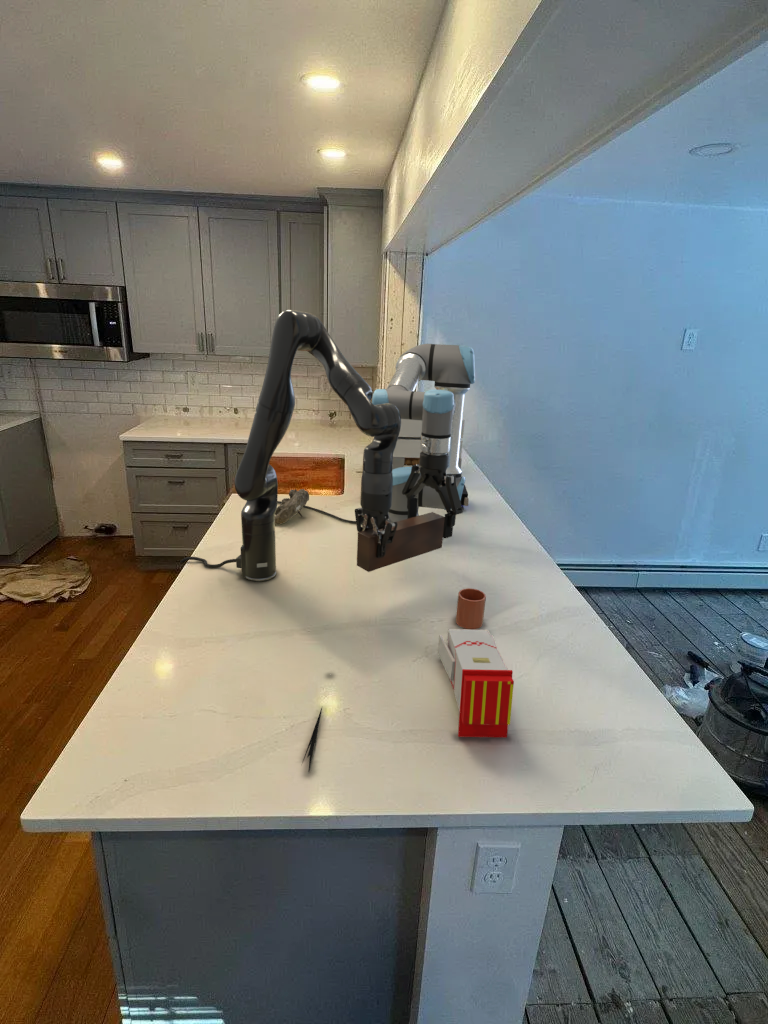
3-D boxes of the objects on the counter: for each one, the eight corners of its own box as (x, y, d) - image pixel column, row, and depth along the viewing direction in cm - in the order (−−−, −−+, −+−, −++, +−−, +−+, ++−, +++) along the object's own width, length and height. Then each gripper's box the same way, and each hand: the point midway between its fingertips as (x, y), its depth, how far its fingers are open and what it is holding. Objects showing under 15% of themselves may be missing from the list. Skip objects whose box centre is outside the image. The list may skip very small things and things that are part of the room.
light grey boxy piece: (382, 463, 289) (386, 382, 275) (445, 464, 293) (451, 384, 279) (390, 482, 257) (394, 392, 243) (460, 483, 261) (468, 394, 247)
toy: (488, 613, 130) (523, 677, 101) (484, 667, 133) (517, 744, 104) (435, 612, 130) (455, 676, 101) (432, 666, 133) (451, 743, 103)
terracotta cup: (450, 620, 145) (452, 593, 143) (467, 612, 150) (470, 585, 147) (470, 632, 141) (473, 603, 138) (488, 623, 145) (491, 596, 142)
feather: (331, 679, 122) (336, 673, 122) (307, 777, 96) (313, 769, 95) (324, 675, 122) (329, 669, 121) (298, 772, 95) (304, 764, 95)
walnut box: (368, 572, 138) (369, 538, 135) (356, 565, 142) (357, 532, 139) (442, 547, 155) (444, 516, 152) (430, 542, 158) (432, 511, 155)
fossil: (278, 495, 221) (307, 474, 216) (294, 513, 224) (323, 493, 219) (262, 520, 201) (293, 498, 196) (280, 540, 204) (311, 518, 199)
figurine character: (468, 514, 225) (463, 498, 239) (470, 497, 222) (465, 482, 235) (451, 514, 225) (447, 498, 238) (453, 497, 222) (449, 481, 235)
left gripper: (346, 483, 138) (344, 547, 144) (384, 499, 128) (380, 567, 134) (369, 478, 143) (367, 541, 148) (408, 493, 133) (404, 560, 138)
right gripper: (391, 443, 151) (388, 517, 159) (461, 465, 134) (453, 547, 141) (412, 440, 156) (407, 512, 163) (481, 461, 138) (473, 540, 146)
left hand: (373, 553), depth 141 cm, fingers closed on walnut box, 4 cm apart
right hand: (429, 529), depth 152 cm, fingers open, 13 cm apart
